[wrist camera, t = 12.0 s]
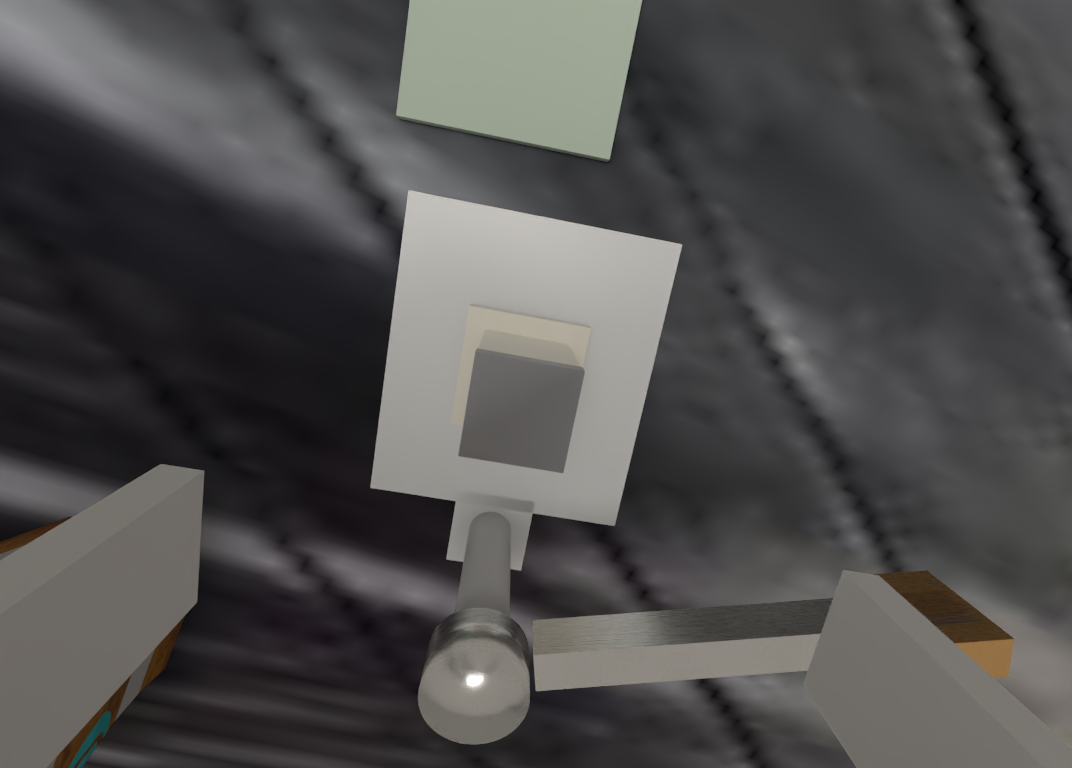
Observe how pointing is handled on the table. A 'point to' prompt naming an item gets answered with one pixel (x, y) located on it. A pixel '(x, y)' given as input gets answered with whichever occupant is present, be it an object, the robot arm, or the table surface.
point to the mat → (520, 70)
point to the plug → (519, 387)
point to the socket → (434, 359)
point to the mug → (92, 733)
